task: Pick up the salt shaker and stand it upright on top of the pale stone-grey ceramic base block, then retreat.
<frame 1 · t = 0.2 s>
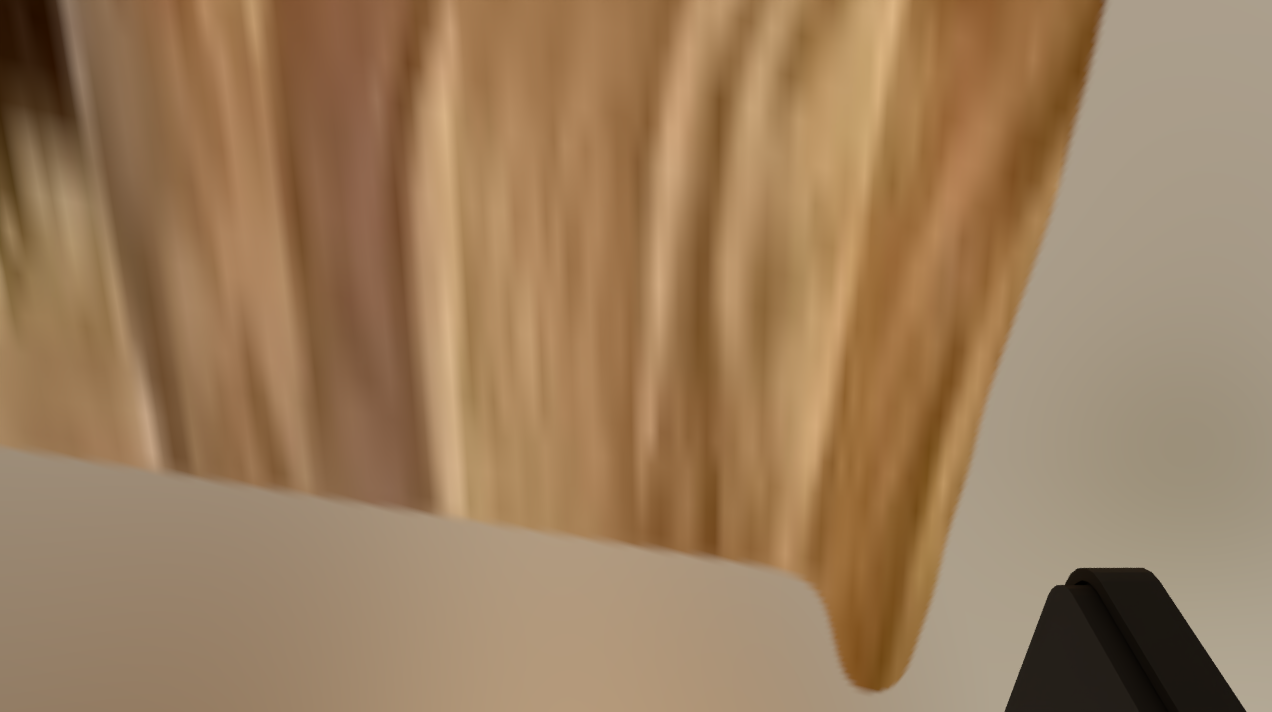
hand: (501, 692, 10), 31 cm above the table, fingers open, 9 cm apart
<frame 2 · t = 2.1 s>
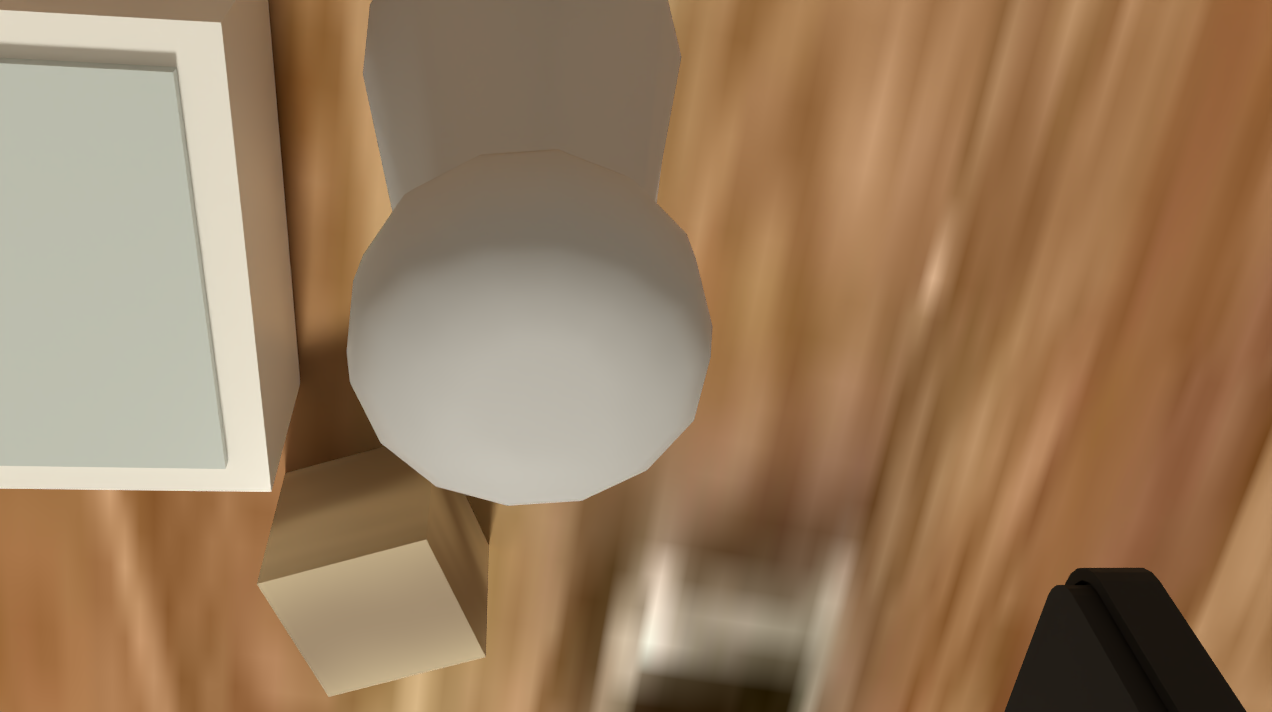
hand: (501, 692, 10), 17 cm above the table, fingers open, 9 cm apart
salt shaker: (523, 20, 24), on the table
base block: (40, 182, 25), on the table
tan block: (390, 508, 31), on the table
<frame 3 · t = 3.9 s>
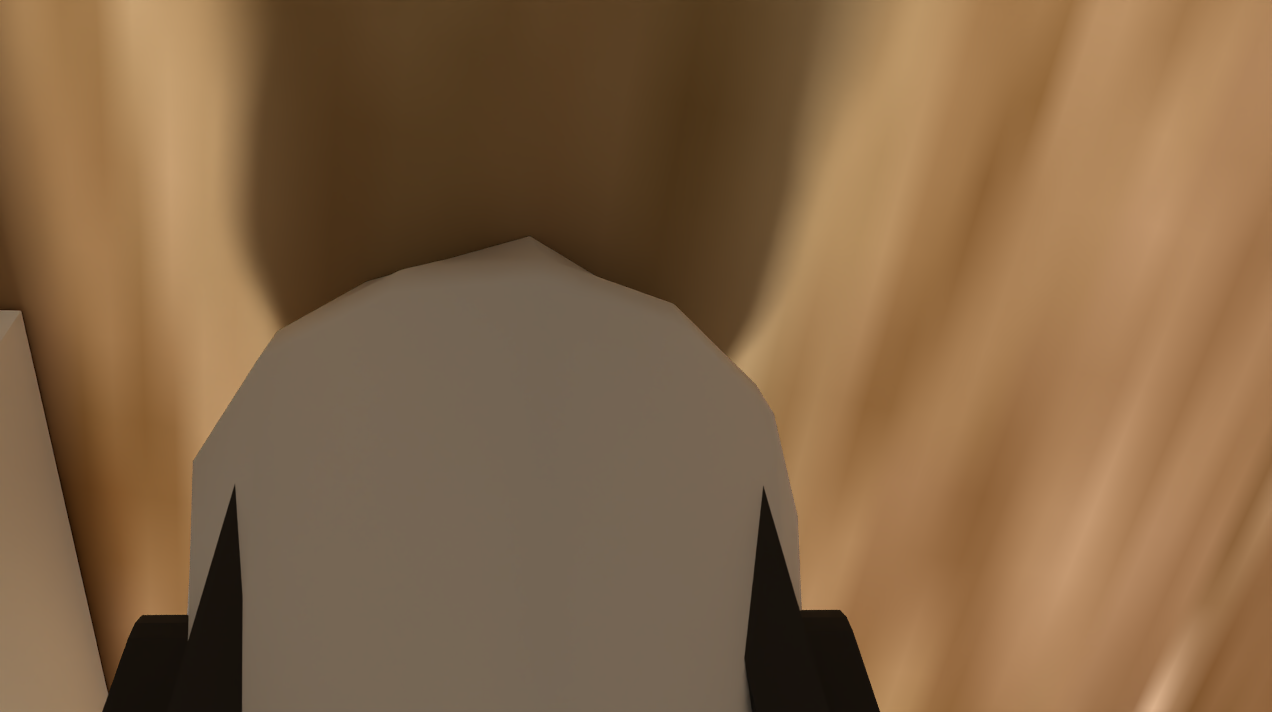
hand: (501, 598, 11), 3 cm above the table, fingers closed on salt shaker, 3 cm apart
salt shaker: (500, 387, 14), on the table, touching gripper
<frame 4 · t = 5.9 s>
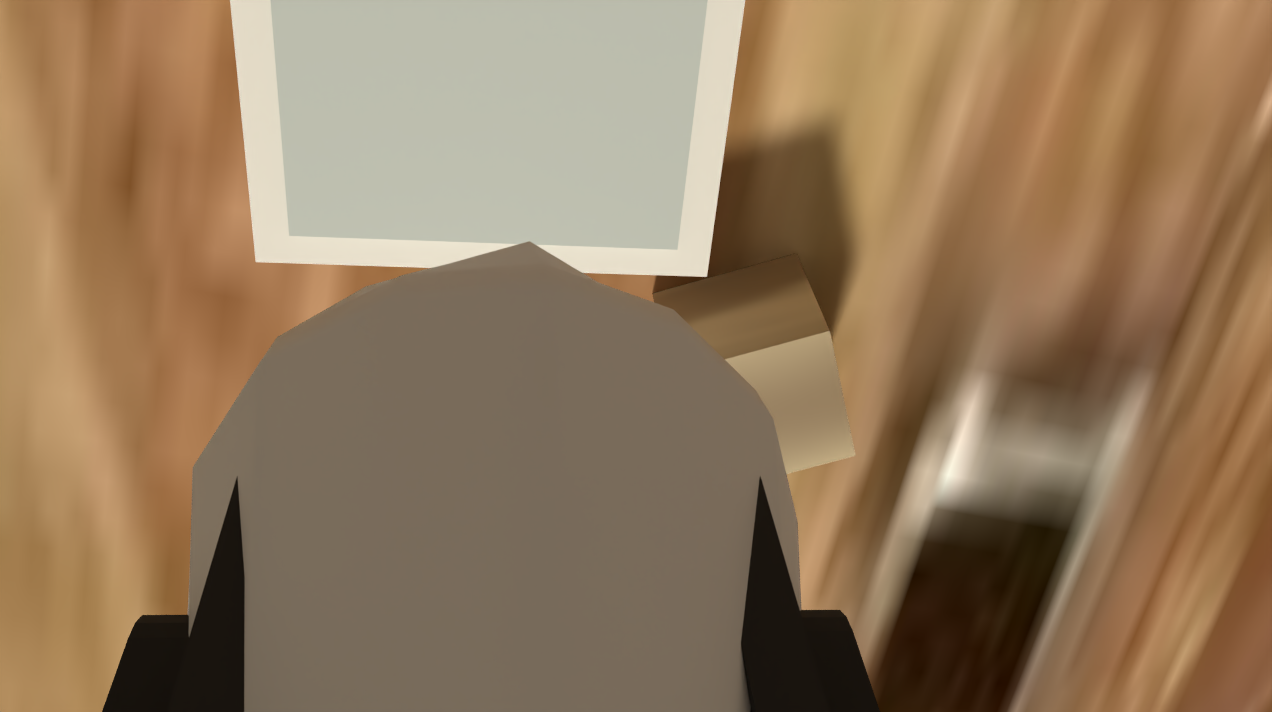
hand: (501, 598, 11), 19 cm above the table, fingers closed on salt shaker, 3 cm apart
salt shaker: (500, 391, 14), point 16 cm above the table, touching gripper
tan block: (739, 331, 33), on the table
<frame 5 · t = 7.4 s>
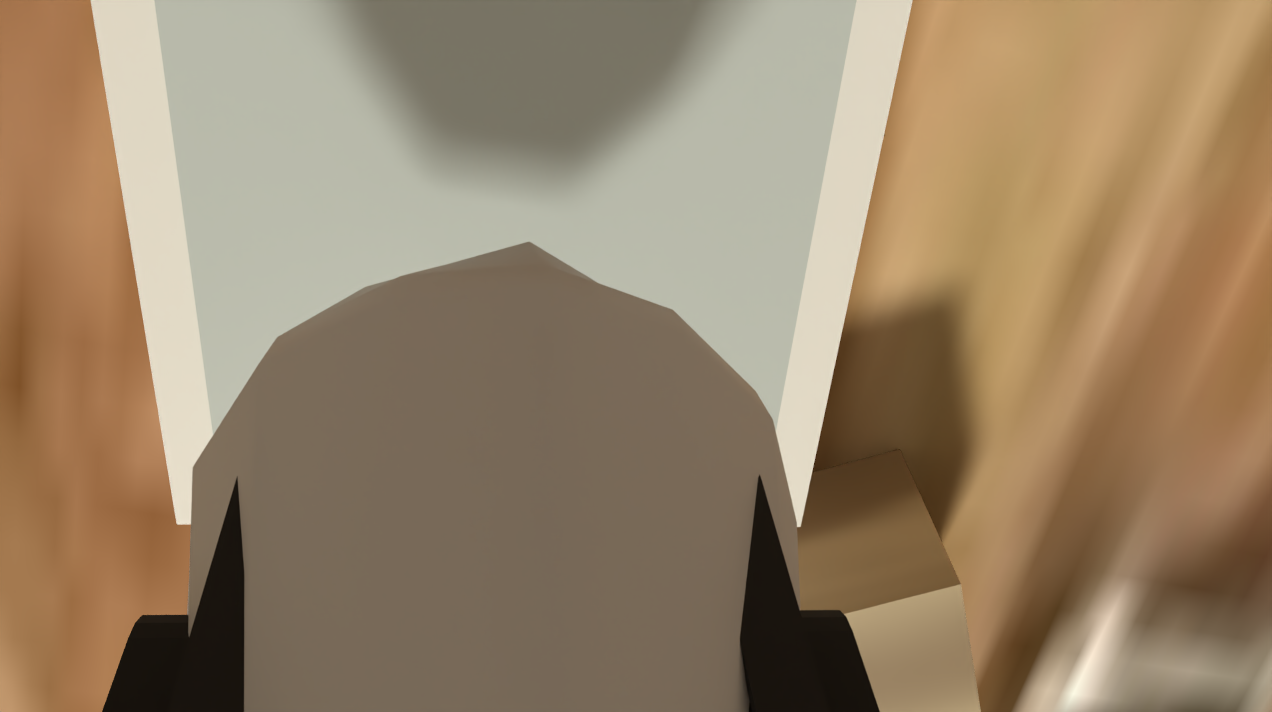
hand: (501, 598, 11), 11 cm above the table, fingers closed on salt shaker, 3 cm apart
salt shaker: (500, 391, 14), point 7 cm above the table, touching gripper
base block: (506, 138, 20), on the table
tan block: (820, 540, 25), on the table
when the fingers open (8 cm above the table, at t = 8.2 s): salt shaker stays where it is, resting on base block.
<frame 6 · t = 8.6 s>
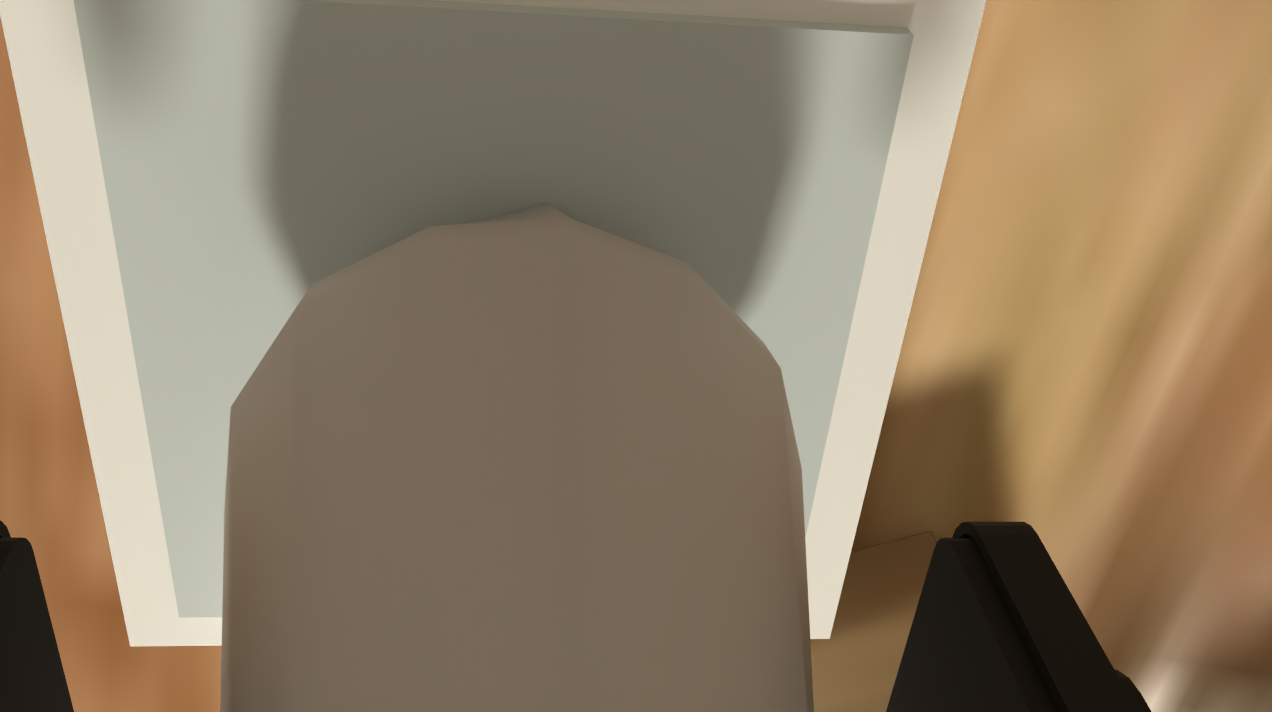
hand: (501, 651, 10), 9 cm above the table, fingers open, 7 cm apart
salt shaker: (516, 349, 14), point 4 cm above the table, touching base block
base block: (501, 206, 18), on the table
tan block: (843, 625, 23), on the table
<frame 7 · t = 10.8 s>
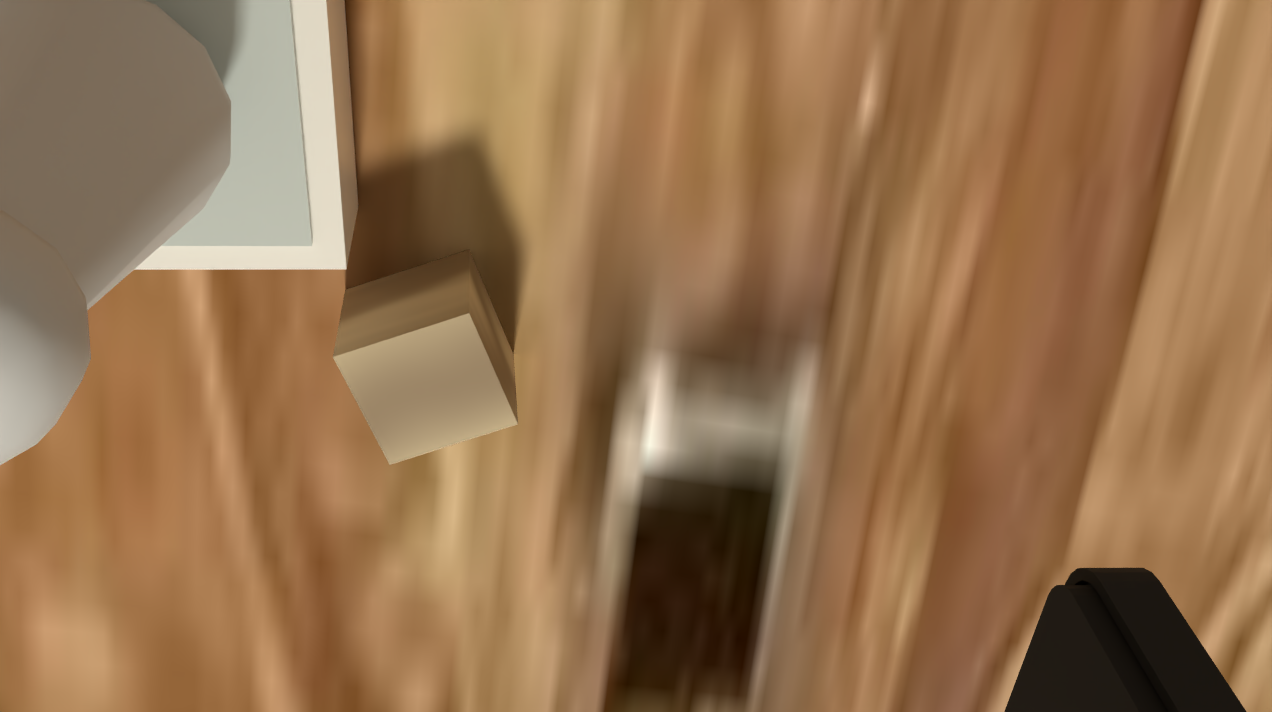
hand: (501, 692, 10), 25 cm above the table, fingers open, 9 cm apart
salt shaker: (123, 80, 28), point 4 cm above the table, touching base block
base block: (154, 32, 31), on the table
tan block: (431, 321, 37), on the table
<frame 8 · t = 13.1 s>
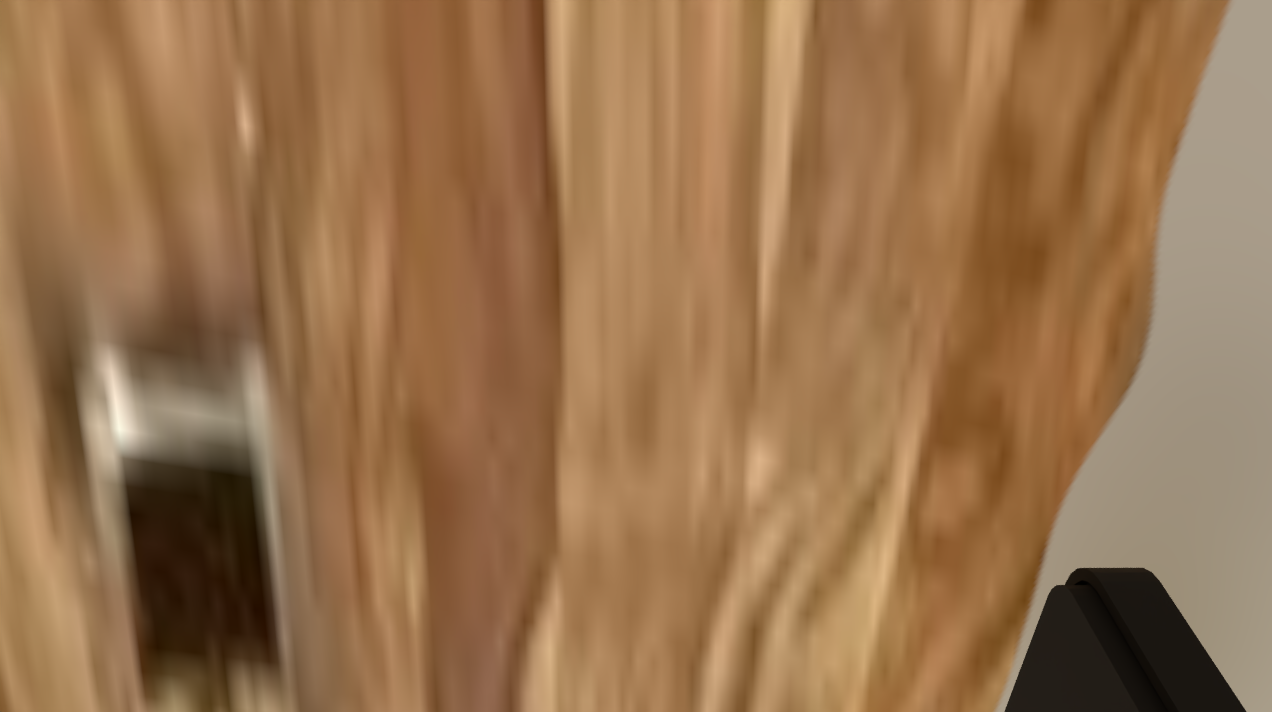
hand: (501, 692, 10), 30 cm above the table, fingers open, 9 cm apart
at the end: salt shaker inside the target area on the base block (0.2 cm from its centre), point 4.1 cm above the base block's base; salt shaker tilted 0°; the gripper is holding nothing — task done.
